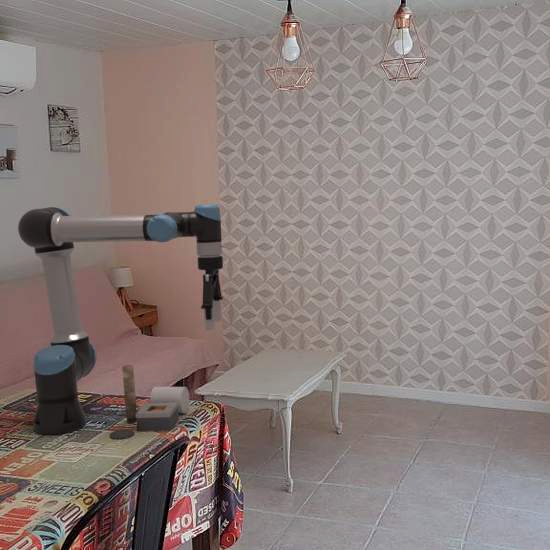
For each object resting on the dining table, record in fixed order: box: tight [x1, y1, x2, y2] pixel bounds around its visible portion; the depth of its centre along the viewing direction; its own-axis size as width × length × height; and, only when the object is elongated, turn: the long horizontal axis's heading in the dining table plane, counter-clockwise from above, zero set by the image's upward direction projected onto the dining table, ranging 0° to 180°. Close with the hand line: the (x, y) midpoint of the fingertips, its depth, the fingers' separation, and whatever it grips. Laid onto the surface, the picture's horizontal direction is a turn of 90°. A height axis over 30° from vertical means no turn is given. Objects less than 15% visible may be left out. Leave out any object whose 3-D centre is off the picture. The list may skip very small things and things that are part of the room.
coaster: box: [109, 428, 135, 441], centre depth 213 cm, size 7×7×1 cm
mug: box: [149, 386, 190, 414], centre depth 233 cm, size 12×10×8 cm
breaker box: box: [135, 402, 180, 432], centre depth 219 cm, size 10×10×5 cm
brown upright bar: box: [121, 364, 138, 424], centre depth 223 cm, size 3×3×17 cm
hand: (213, 325), depth 228 cm, fingers open, 13 cm apart
